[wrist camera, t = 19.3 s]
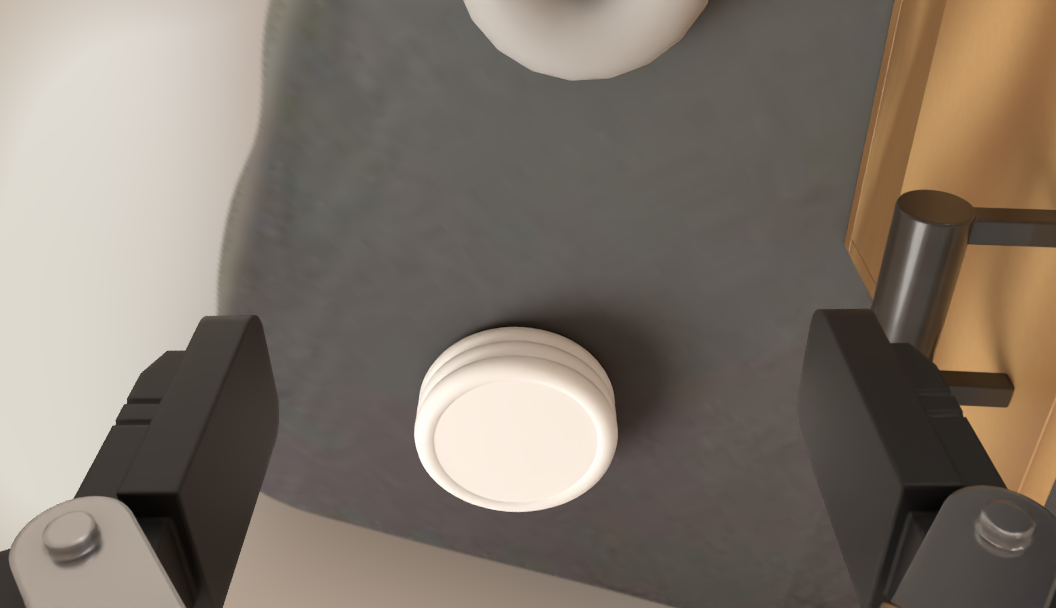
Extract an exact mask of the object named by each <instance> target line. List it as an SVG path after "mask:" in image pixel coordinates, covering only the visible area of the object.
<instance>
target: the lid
mask: <svg viewBox="0 0 1056 608" xmlns="http://www.w3.org/2000/svg"><path fill="white" fill-rule="evenodd" d="M871 310H872V311H873V312H874V314H875V315H876V317H877V319H878V321H879V323H880V325H881V327H882V328H883V330H884V332H885V334H886V336H887V338H888V340H889V342H890V343H910V344H911V345H912V346H913V347H915V348H916V349H917V350H918V351H919V352H921V353H922V354H923V355H924V356H926V357H927V358H928V359H929V360H931V361H932V362H933V363H934V364H936V365H937V367H938V369H939V371H940V372H941V374H942V376H943V378H944V379H945V381H946V383H947V385H948V386H949V388H950V390H951V396H954V397H955V398H956V400H957V402H958V404H959V405H960V407H961V409H962V410H963V417H967V419H968V421H969V423H970V424H971V426H972V428H973V430H974V431H975V433H976V435H977V436H978V438H979V440H980V442H981V443H982V445H983V447H984V449H985V450H986V452H987V454H988V456H989V457H990V459H991V461H992V462H993V464H994V466H995V468H996V469H997V471H998V473H999V475H1000V476H1001V478H1002V480H1003V482H1004V483H1005V485H1006V487H1007V488H1008V489H1009V490H1012V491H1015V492H1018V493H1020V494H1023V495H1025V496H1027V497H1029V498H1031V499H1033V500H1034V501H1036V502H1038V503H1039V504H1041V505H1042V506H1043V507H1044V505H1045V503H1046V500H1047V498H1048V496H1049V493H1050V491H1051V489H1052V486H1053V484H1054V481H1055V479H1056V0H947V1H946V5H945V9H944V14H943V18H942V22H941V26H940V30H939V35H938V39H937V43H936V47H935V51H934V56H933V60H932V64H931V68H930V72H929V77H928V81H927V85H926V89H925V93H924V98H923V102H922V106H921V110H920V114H919V119H918V123H917V127H916V131H915V135H914V140H913V144H912V148H911V152H910V156H909V161H908V165H907V169H906V173H905V177H904V182H903V186H902V190H901V194H900V197H899V198H898V199H897V201H896V204H895V208H894V213H893V217H892V221H891V225H890V230H889V234H888V238H887V242H886V246H885V251H884V255H883V259H882V263H881V268H880V272H879V276H878V280H877V285H876V289H875V293H874V297H873V301H872V306H871Z"/></svg>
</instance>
